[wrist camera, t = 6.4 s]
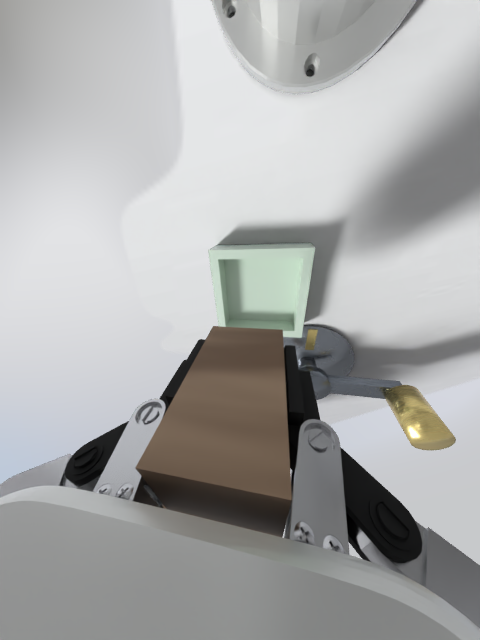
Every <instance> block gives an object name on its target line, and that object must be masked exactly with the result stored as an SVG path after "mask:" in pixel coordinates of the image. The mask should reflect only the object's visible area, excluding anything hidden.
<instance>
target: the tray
mask: <svg viewBox="0 0 480 640" xmlns="http://www.w3.org/2000/svg"><path fill="white" fill-rule="evenodd" d="M208 252H209V259H210V266H211V274H212V281H213V288H214V296H215V303H216V310H217V318H218V325H219V327H239V328H259V329H279V330H283V337H295V338H302V332H303V325H304V318H305V312H306V305H307V299H308V292H309V286H310V279H311V272H312V266H313V259H314V253H315V247H314V246H313V245H312V244H311V243H284V244H249V245H216V246H214V247H213V248H211V249H210V250H208Z"/></svg>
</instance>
